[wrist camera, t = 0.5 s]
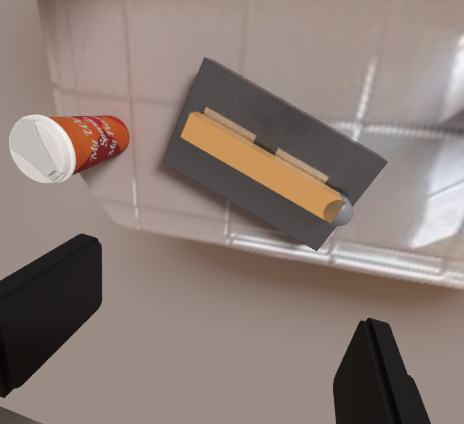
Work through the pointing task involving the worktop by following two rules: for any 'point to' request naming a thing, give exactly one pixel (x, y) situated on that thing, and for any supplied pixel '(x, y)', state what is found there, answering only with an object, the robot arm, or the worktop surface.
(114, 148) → the paper cup
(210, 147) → the light orange bar
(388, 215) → the worktop surface
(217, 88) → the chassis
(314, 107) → the worktop surface
